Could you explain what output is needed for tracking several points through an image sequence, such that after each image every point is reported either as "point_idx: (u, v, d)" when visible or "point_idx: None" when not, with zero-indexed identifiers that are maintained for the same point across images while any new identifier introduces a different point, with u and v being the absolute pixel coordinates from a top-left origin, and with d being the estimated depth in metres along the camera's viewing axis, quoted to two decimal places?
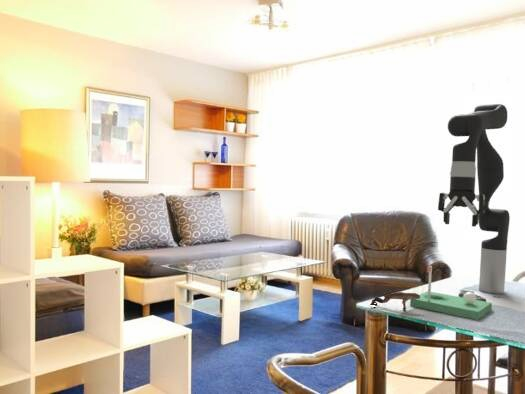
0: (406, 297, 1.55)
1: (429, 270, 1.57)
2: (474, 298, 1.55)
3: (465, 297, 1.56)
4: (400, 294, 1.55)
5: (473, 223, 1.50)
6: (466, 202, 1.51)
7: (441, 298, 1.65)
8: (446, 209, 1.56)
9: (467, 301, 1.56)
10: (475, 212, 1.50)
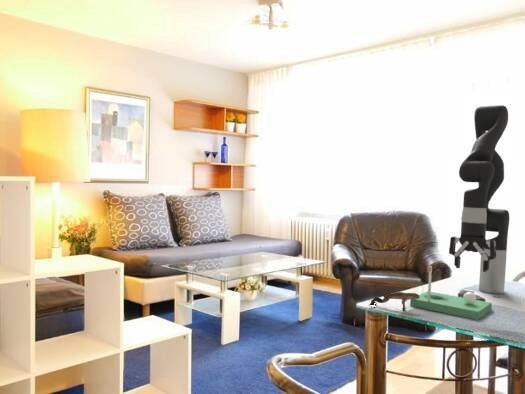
0: (405, 297, 1.55)
1: (429, 270, 1.57)
2: (474, 298, 1.55)
3: (465, 297, 1.56)
4: (400, 294, 1.56)
5: (484, 268, 1.53)
6: (477, 248, 1.53)
7: (441, 298, 1.65)
8: (457, 253, 1.58)
9: (467, 301, 1.56)
10: (486, 258, 1.52)
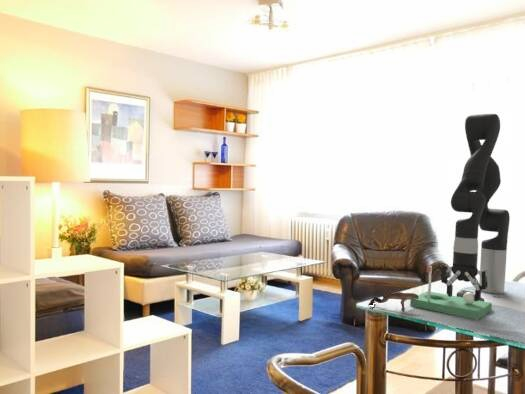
0: (404, 297, 1.55)
1: (429, 270, 1.57)
2: (474, 298, 1.55)
3: (465, 297, 1.56)
4: (399, 294, 1.55)
5: (476, 298, 1.54)
6: (469, 277, 1.55)
7: (441, 298, 1.65)
8: (449, 282, 1.60)
9: (467, 301, 1.56)
10: (478, 288, 1.54)
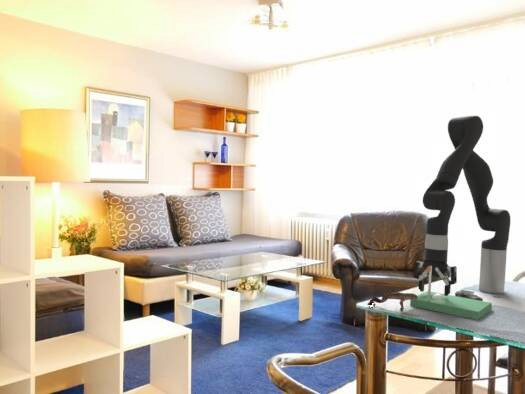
0: (403, 297, 1.54)
1: (429, 270, 1.57)
2: None
3: (437, 297, 1.62)
4: (398, 294, 1.55)
5: (445, 293, 1.61)
6: (439, 273, 1.62)
7: None
8: (421, 277, 1.66)
9: None
10: (447, 283, 1.60)
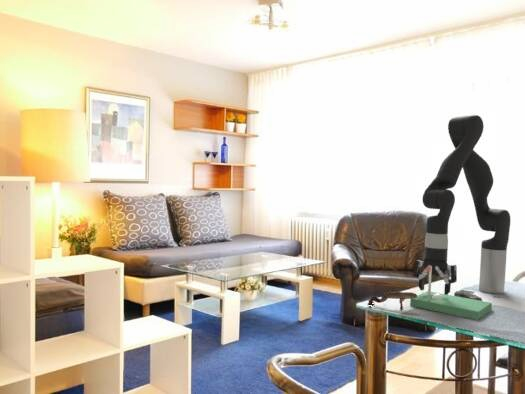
0: (403, 296, 1.55)
1: (429, 270, 1.57)
2: None
3: (436, 296, 1.62)
4: (398, 293, 1.56)
5: (445, 291, 1.61)
6: (439, 272, 1.62)
7: None
8: (421, 276, 1.66)
9: None
10: (447, 281, 1.60)
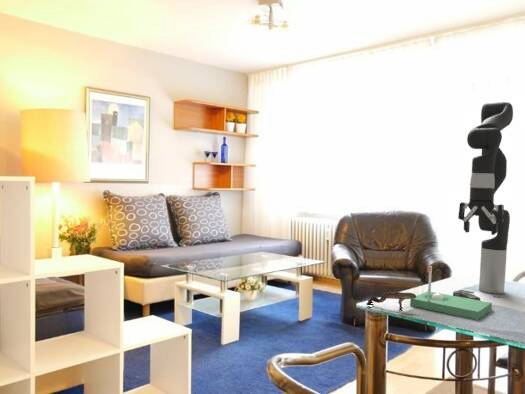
0: (402, 297, 1.55)
1: (429, 270, 1.57)
2: None
3: (436, 296, 1.63)
4: (397, 294, 1.56)
5: (492, 232, 1.59)
6: (485, 212, 1.59)
7: None
8: (466, 218, 1.64)
9: (433, 298, 1.63)
10: (494, 221, 1.58)
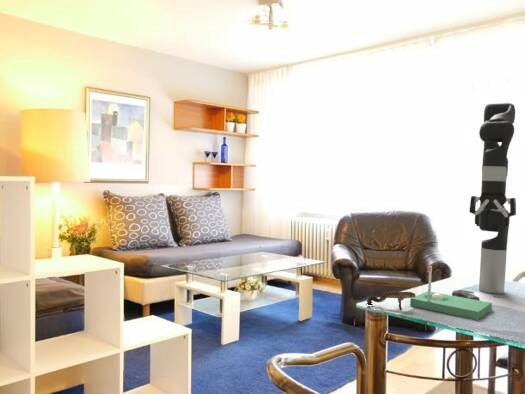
0: (402, 296, 1.56)
1: (429, 270, 1.57)
2: None
3: (435, 296, 1.63)
4: (396, 293, 1.57)
5: (504, 225, 1.58)
6: (497, 205, 1.59)
7: None
8: (477, 212, 1.63)
9: (432, 298, 1.63)
10: (506, 214, 1.57)
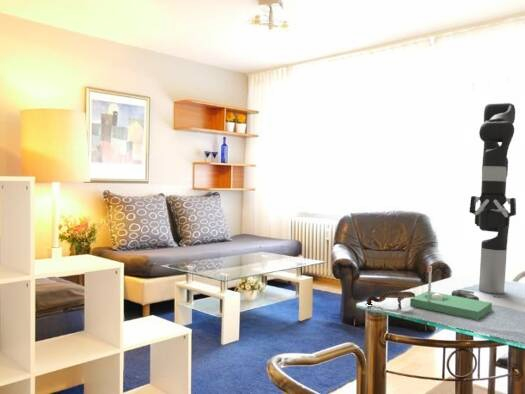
0: (402, 296, 1.57)
1: (429, 270, 1.57)
2: None
3: (435, 296, 1.63)
4: (396, 293, 1.57)
5: (504, 225, 1.58)
6: (497, 205, 1.59)
7: None
8: (477, 212, 1.63)
9: (432, 298, 1.63)
10: (506, 214, 1.57)
